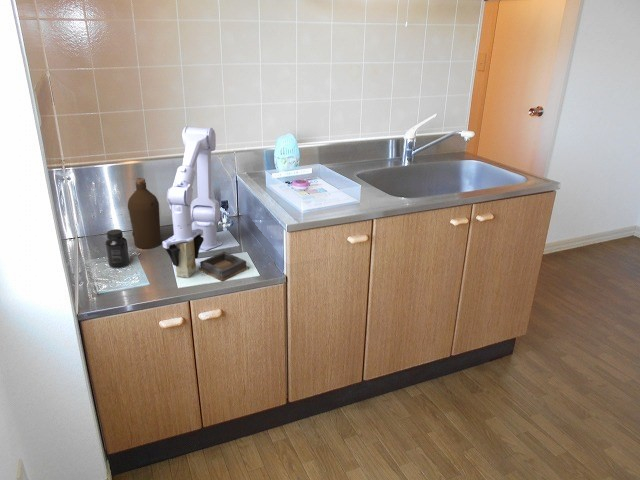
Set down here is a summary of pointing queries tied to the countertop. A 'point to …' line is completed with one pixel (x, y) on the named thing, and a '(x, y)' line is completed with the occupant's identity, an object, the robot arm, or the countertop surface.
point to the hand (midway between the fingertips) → (185, 261)
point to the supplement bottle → (117, 249)
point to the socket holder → (223, 266)
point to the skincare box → (186, 259)
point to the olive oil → (144, 217)
